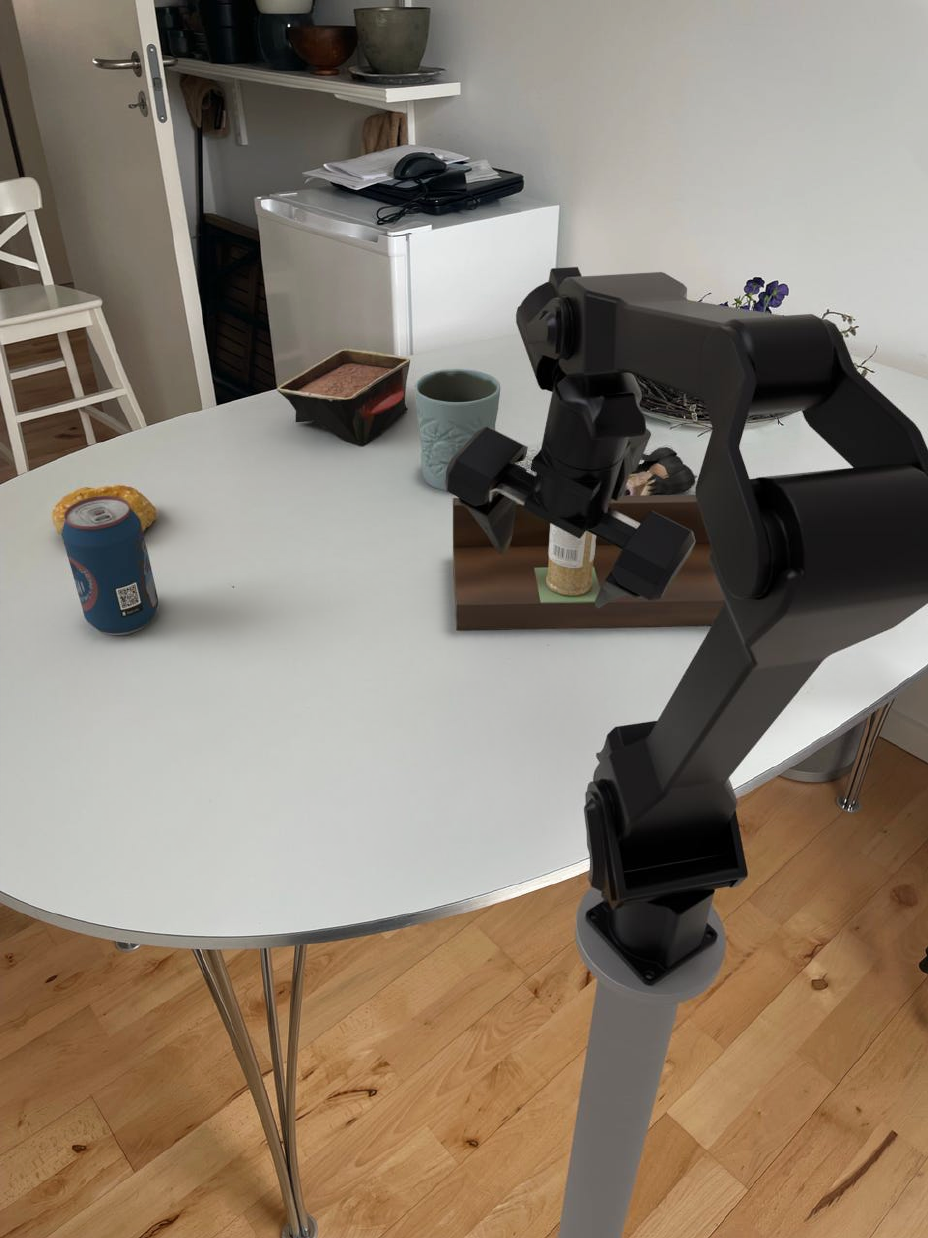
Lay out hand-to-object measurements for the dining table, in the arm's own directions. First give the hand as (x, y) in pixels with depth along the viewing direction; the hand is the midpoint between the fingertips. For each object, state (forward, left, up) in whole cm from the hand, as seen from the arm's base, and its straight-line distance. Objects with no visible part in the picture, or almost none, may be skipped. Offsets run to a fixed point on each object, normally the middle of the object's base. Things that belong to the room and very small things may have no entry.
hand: (550, 576), depth 77 cm
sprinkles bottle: (+8, -9, -9) cm, 15 cm away
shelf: (+9, -13, -12) cm, 20 cm away
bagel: (+49, +24, -12) cm, 56 cm away
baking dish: (+60, -13, -12) cm, 62 cm away
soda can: (+31, +28, -12) cm, 43 cm away
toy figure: (+21, -30, -12) cm, 38 cm away
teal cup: (+38, -16, -12) cm, 43 cm away
